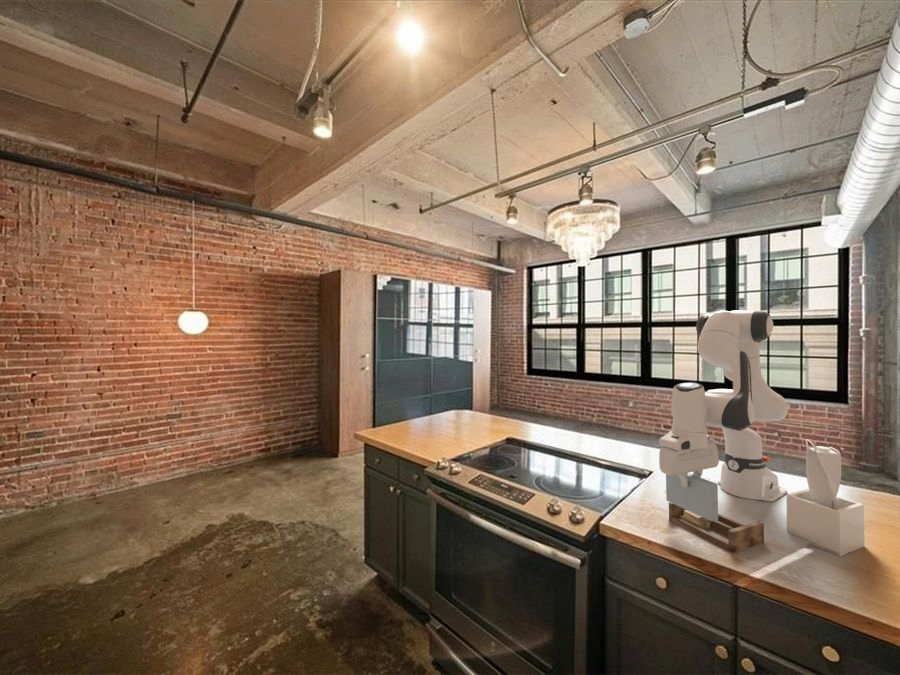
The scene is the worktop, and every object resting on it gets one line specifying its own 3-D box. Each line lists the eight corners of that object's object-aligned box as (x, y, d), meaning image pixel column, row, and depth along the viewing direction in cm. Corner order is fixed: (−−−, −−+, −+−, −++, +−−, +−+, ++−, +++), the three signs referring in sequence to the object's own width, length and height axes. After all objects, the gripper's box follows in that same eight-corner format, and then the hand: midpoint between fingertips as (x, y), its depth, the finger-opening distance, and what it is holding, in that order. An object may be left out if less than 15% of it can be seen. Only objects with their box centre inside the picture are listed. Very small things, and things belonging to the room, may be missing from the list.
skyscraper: (798, 533, 110) (796, 440, 110) (813, 527, 113) (811, 436, 113) (836, 548, 102) (834, 448, 102) (851, 541, 105) (849, 444, 105)
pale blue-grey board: (672, 499, 115) (671, 467, 115) (718, 519, 102) (717, 483, 102) (666, 500, 114) (665, 468, 114) (711, 521, 101) (711, 485, 101)
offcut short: (693, 514, 118) (693, 508, 118) (708, 521, 113) (708, 515, 113) (683, 516, 117) (683, 510, 117) (698, 524, 112) (698, 517, 112)
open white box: (810, 526, 115) (810, 488, 115) (864, 546, 104) (863, 504, 104) (787, 534, 111) (786, 494, 111) (840, 556, 100) (839, 512, 100)
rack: (697, 516, 123) (697, 495, 123) (764, 547, 105) (763, 522, 105) (669, 524, 119) (668, 502, 119) (733, 557, 100) (732, 532, 100)
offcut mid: (688, 518, 119) (688, 512, 119) (710, 528, 113) (710, 521, 113) (680, 522, 117) (680, 516, 117) (701, 532, 111) (701, 525, 111)
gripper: (703, 432, 115) (704, 476, 115) (654, 439, 108) (655, 486, 108) (724, 437, 109) (725, 483, 109) (674, 445, 102) (675, 495, 102)
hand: (690, 485), depth 108 cm, fingers closed on pale blue-grey board, 2 cm apart
